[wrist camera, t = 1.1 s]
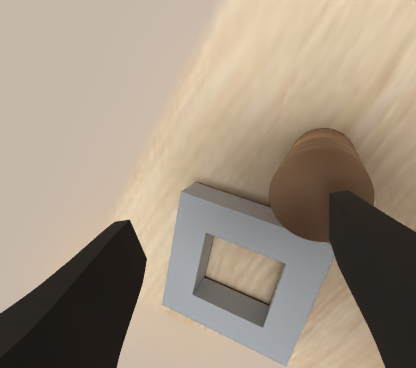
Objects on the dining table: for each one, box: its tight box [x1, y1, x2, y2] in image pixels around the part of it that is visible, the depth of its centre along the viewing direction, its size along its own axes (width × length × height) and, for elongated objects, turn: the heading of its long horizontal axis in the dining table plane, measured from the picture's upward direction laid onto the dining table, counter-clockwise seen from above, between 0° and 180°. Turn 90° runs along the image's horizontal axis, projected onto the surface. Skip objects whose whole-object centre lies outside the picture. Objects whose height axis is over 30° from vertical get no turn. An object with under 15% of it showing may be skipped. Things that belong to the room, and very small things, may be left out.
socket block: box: [162, 182, 334, 366], centre depth 22 cm, size 11×11×2 cm
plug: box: [269, 128, 374, 242], centre depth 15 cm, size 4×4×8 cm
